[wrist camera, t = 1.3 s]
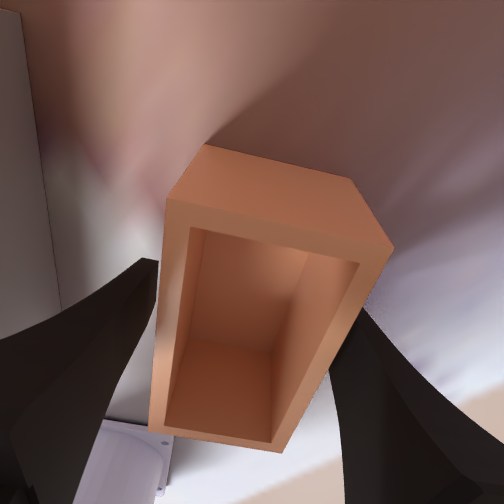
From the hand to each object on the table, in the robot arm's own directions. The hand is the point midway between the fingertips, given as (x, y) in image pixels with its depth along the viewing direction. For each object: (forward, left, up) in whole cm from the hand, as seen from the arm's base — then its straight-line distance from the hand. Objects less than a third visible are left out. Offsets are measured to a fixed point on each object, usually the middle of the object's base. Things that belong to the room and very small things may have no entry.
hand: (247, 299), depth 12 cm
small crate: (0, 0, -2) cm, 2 cm away
